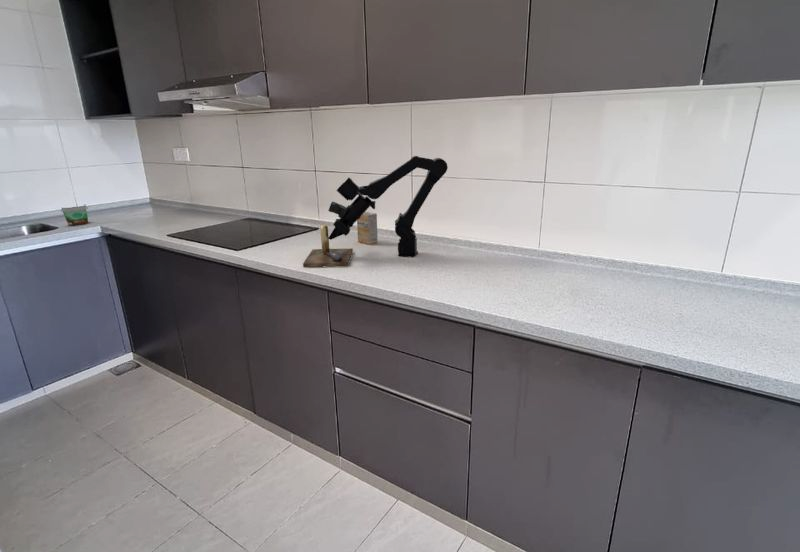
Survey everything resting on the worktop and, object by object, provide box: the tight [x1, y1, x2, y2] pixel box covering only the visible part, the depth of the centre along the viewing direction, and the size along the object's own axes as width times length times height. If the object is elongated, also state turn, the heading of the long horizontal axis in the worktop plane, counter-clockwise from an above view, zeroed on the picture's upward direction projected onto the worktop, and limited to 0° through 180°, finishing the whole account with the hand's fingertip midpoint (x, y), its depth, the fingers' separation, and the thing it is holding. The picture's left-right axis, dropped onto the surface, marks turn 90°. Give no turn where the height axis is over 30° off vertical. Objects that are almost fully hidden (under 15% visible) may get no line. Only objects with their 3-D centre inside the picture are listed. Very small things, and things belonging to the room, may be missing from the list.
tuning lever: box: [320, 224, 342, 261], centre depth 162 cm, size 4×17×10 cm, turn 30°
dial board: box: [302, 247, 354, 268], centre depth 165 cm, size 16×19×2 cm
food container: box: [60, 204, 89, 227], centre depth 238 cm, size 12×6×10 cm, turn 148°
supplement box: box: [356, 210, 379, 245], centre depth 186 cm, size 8×5×13 cm, turn 45°
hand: (329, 238), depth 167 cm, fingers closed
